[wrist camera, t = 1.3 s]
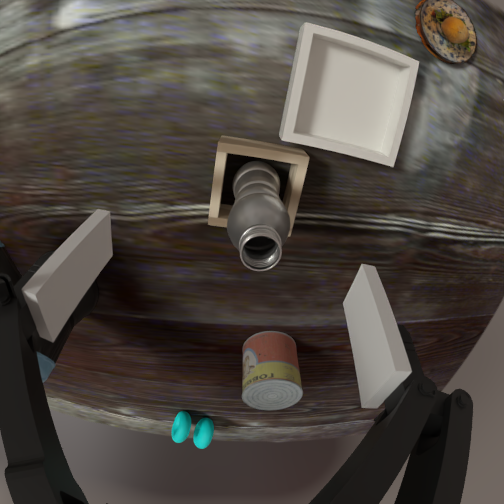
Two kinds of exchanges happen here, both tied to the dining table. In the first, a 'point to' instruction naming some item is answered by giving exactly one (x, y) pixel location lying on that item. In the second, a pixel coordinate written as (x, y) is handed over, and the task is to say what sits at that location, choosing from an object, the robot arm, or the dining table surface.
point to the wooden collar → (260, 150)
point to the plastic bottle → (258, 216)
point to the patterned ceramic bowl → (446, 30)
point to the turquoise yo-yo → (201, 432)
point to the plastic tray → (348, 95)
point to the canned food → (271, 371)
